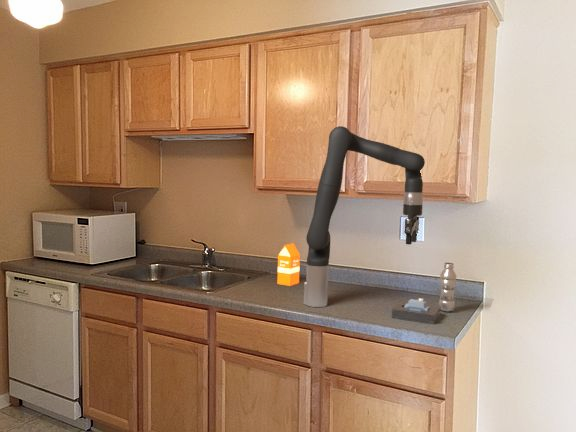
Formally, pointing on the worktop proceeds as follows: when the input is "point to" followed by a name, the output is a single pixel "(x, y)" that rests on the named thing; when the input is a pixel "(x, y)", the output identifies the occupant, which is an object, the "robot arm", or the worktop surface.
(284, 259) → the orange juice
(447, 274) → the plastic bottle
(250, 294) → the worktop surface
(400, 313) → the block with stepped hole
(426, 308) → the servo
